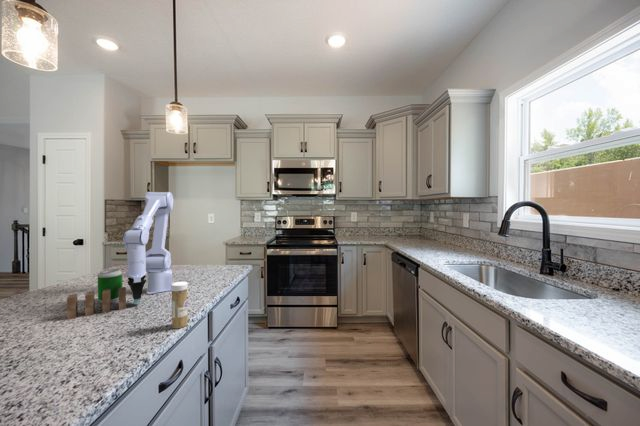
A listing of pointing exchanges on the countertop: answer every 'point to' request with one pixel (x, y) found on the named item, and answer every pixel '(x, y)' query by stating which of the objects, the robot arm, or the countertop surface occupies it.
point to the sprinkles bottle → (179, 304)
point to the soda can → (110, 283)
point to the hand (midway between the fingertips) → (137, 297)
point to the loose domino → (136, 301)
